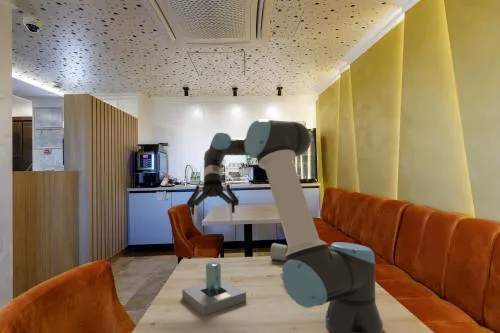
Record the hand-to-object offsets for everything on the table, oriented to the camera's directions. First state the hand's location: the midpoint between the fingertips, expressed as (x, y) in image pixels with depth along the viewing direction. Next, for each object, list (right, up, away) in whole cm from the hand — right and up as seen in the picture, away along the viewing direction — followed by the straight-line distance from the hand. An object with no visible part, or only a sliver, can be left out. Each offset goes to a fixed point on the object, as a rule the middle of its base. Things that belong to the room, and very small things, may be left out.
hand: (213, 220), depth 112 cm
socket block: (+1, -26, -10) cm, 27 cm away
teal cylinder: (+1, -26, -10) cm, 27 cm away
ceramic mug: (+29, -25, +33) cm, 51 cm away
